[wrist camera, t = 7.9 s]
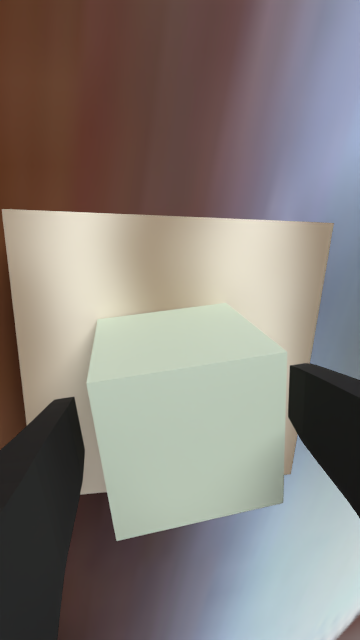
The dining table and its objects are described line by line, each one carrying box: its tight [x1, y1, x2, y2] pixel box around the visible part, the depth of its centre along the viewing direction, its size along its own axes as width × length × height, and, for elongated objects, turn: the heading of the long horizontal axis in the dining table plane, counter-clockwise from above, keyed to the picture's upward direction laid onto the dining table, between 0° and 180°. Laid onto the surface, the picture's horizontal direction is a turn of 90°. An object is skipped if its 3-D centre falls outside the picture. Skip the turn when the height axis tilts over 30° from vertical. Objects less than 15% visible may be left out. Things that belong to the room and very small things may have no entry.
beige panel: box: [2, 209, 334, 495], centre depth 15 cm, size 12×12×4 cm
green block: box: [86, 303, 287, 541], centre depth 11 cm, size 5×5×5 cm
